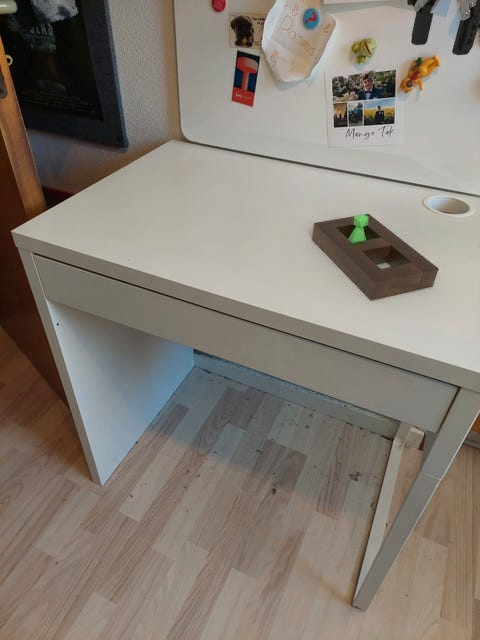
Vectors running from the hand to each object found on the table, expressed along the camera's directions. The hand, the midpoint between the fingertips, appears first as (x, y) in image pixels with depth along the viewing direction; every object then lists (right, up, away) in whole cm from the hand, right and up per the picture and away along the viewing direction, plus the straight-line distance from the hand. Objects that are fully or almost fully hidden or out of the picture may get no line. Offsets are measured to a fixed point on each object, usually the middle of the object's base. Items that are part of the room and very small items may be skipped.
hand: (438, 49), depth 61 cm
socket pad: (-7, -28, +7) cm, 30 cm away
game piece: (-9, -26, +10) cm, 29 cm away
